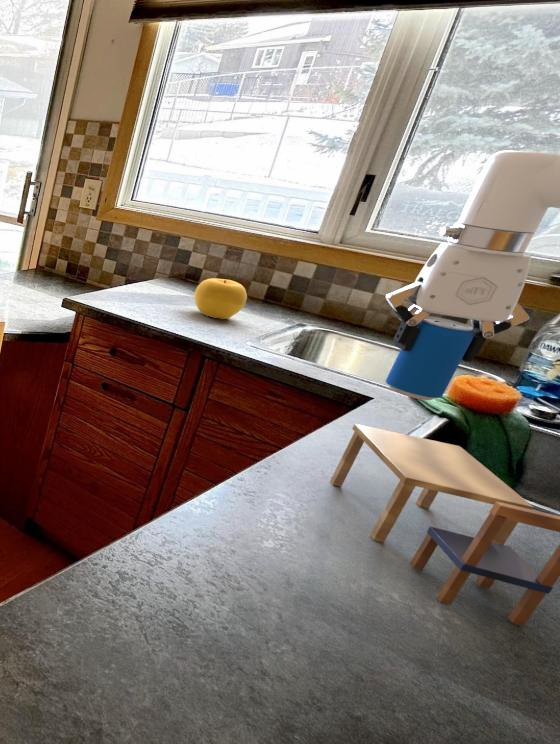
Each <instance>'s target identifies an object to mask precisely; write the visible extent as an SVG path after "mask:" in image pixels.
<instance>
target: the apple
mask: <svg viewBox="0 0 560 744" xmlns="http://www.w3.org/2000/svg"><path fill="white" fill-rule="evenodd" d="M247 299H248V294H247V290H246V288H245V286H243V285H242V284H241V283H239V282H237V281H234V280H231V279H224V278H216V277H215V278H214V277H212V278H207V279H204V280H202V281H201V282H200V283H199V284H198V285H197V287H196V288H195V291H194V302H195V305H196V308H197V310H198V311H199V312H200V313H201V314H203V315H204V316H206V315H207V316H206V317H208V316H211V317H214V318H220V319H219V320H228V319H230V318H232V317H233V316H235V315H236V314H237V313H239V312H240V311H241V310H242V309H243V308H244V306H245V305H246V302H247ZM214 318H213V319H214Z"/></svg>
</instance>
